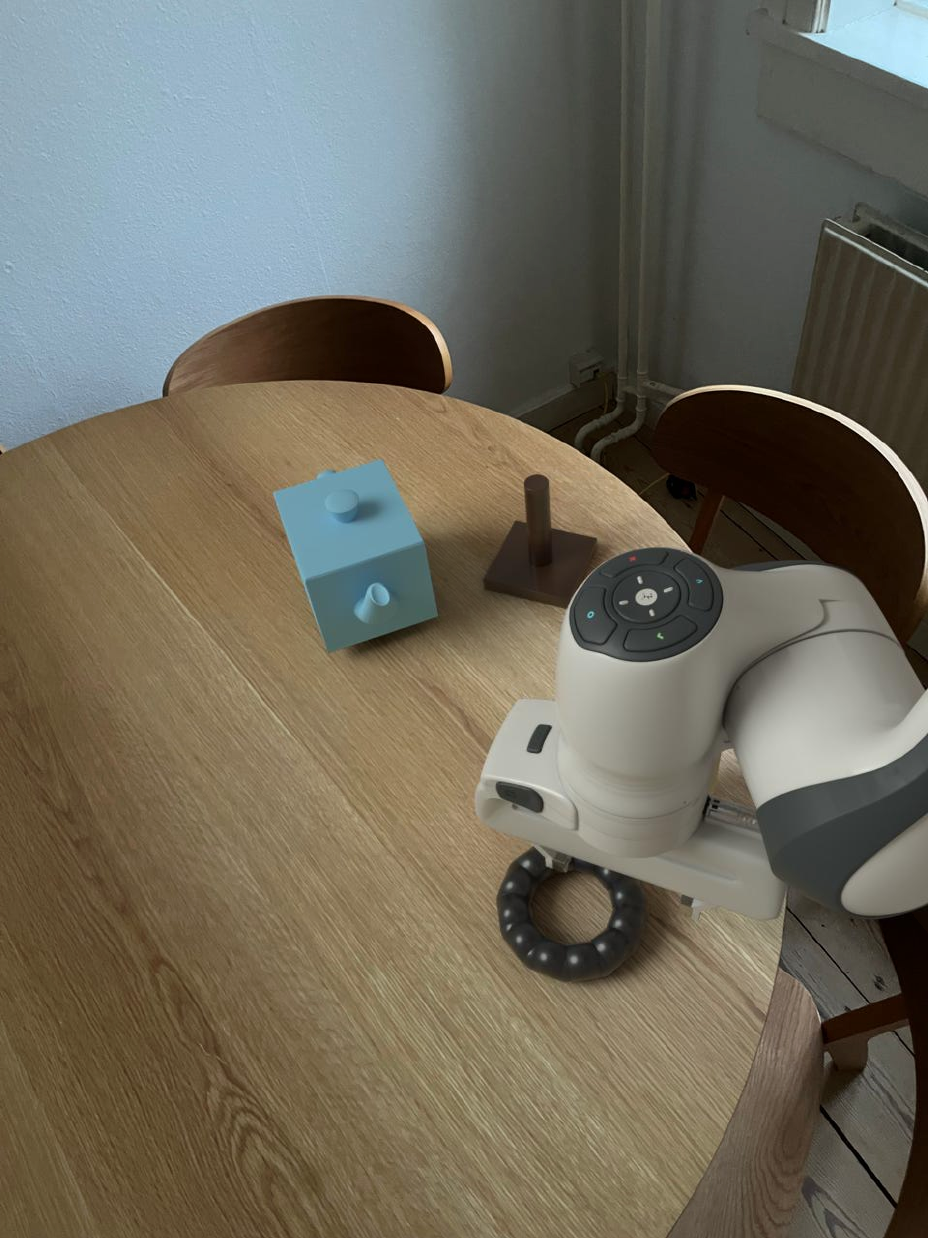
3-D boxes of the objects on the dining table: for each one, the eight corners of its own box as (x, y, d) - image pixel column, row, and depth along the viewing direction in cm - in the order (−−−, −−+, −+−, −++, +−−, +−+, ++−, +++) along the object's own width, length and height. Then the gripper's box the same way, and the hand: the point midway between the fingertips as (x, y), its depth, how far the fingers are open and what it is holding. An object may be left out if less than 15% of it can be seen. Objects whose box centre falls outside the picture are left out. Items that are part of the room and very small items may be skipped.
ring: (663, 873, 75) (665, 857, 73) (620, 1009, 69) (621, 996, 67) (529, 829, 79) (527, 813, 77) (476, 954, 73) (473, 940, 71)
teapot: (294, 559, 103) (261, 458, 93) (392, 528, 105) (371, 425, 95) (348, 712, 89) (316, 613, 79) (461, 672, 91) (444, 570, 80)
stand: (597, 548, 100) (597, 461, 91) (568, 609, 95) (566, 523, 86) (516, 530, 103) (509, 444, 94) (484, 589, 98) (473, 503, 89)
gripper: (824, 787, 55) (785, 894, 66) (494, 690, 62) (506, 801, 72) (803, 883, 52) (765, 980, 62) (455, 769, 58) (473, 874, 69)
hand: (623, 883), depth 67 cm, fingers open, 8 cm apart
